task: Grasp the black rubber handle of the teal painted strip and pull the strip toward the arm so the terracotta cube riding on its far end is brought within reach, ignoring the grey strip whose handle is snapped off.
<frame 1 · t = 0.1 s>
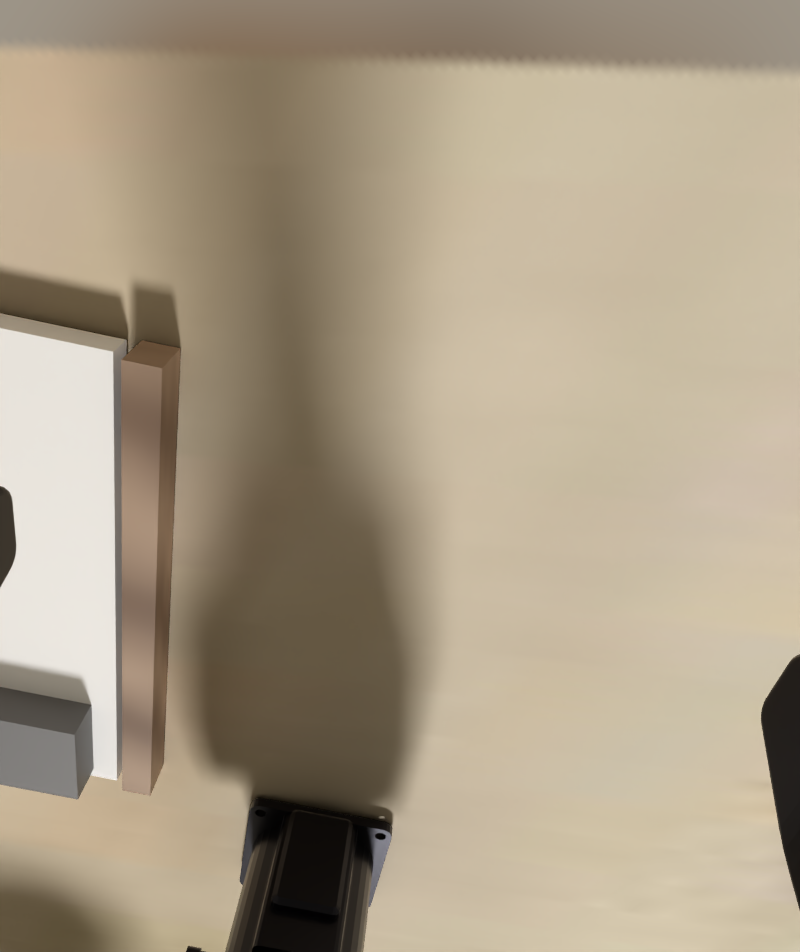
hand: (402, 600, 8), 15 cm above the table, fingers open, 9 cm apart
strip a: (15, 591, 27), point 1 cm above the table, slide at 0.0 cm
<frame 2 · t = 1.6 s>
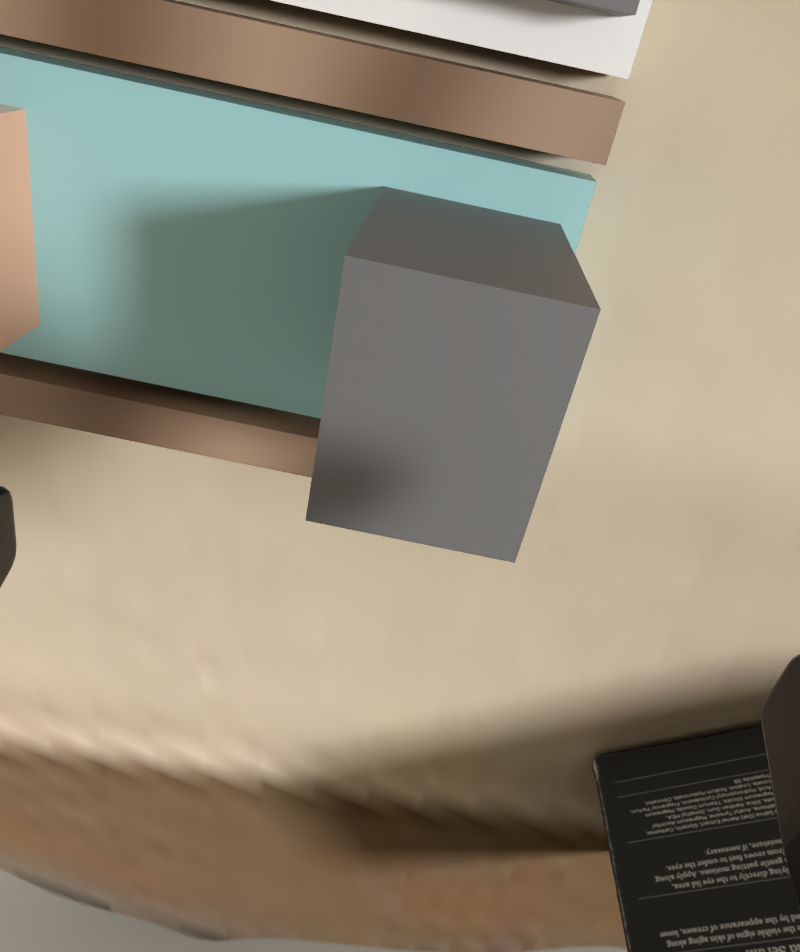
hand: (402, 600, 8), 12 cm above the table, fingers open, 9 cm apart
strip b: (92, 276, 16), point 4 cm above the table, slide at 0.0 cm, touching cube
lane rails: (159, 29, 16), on the table
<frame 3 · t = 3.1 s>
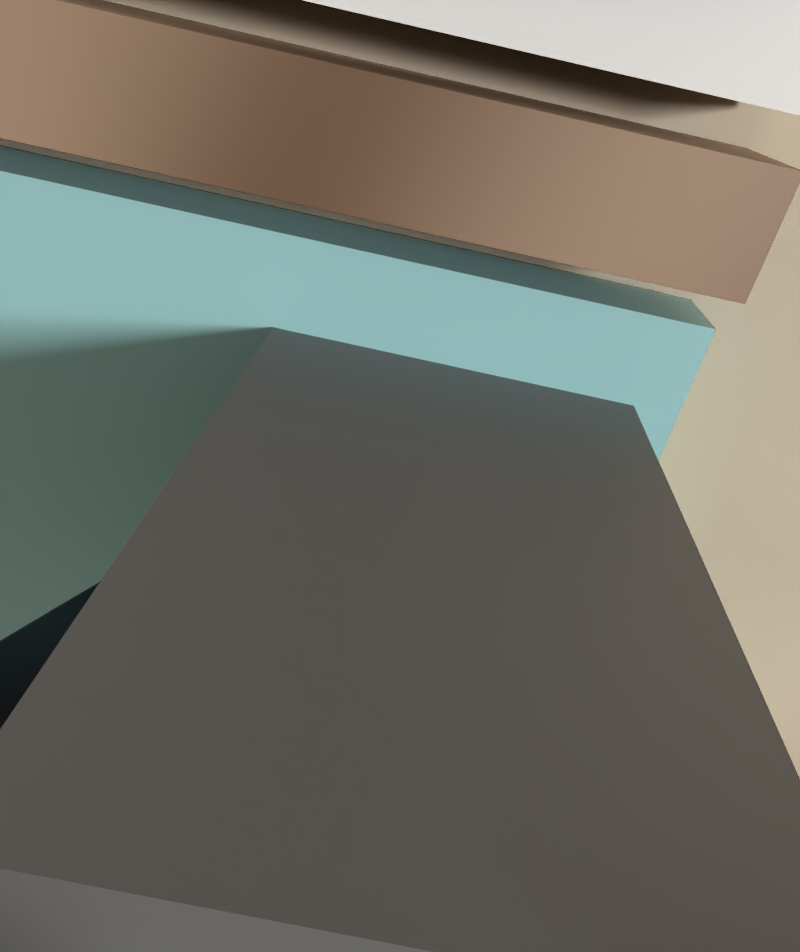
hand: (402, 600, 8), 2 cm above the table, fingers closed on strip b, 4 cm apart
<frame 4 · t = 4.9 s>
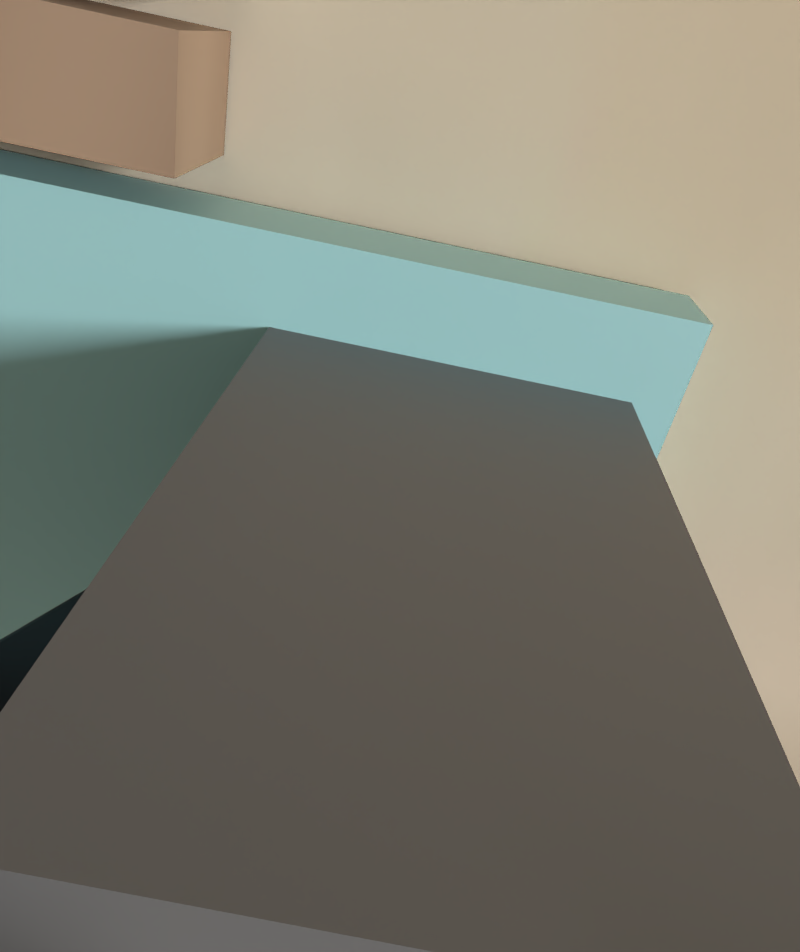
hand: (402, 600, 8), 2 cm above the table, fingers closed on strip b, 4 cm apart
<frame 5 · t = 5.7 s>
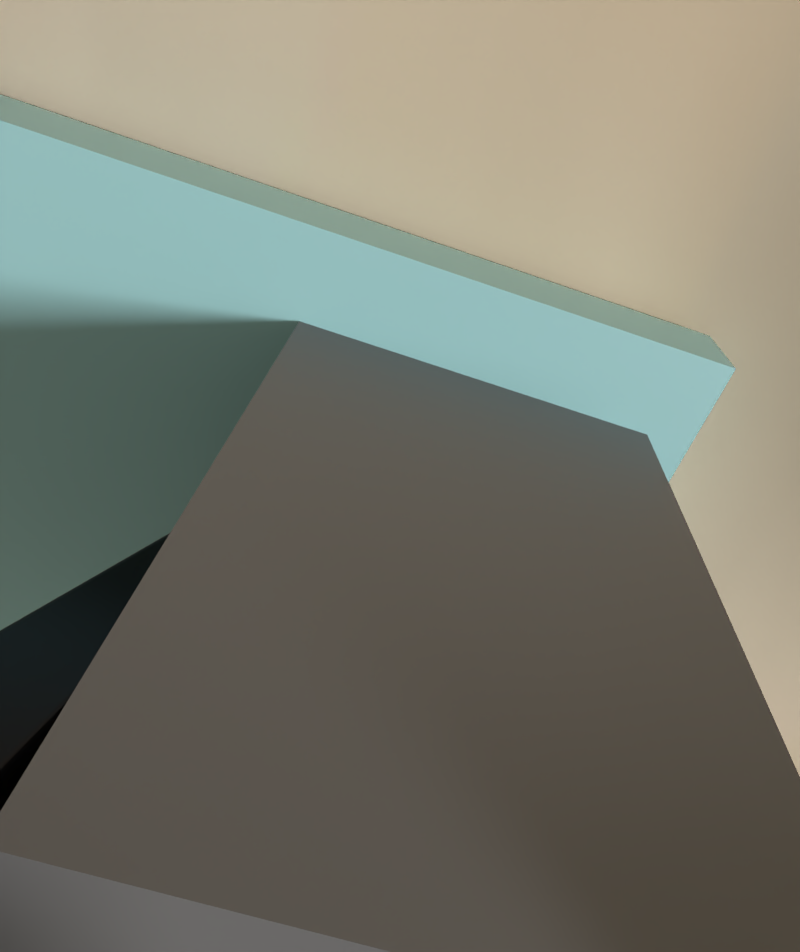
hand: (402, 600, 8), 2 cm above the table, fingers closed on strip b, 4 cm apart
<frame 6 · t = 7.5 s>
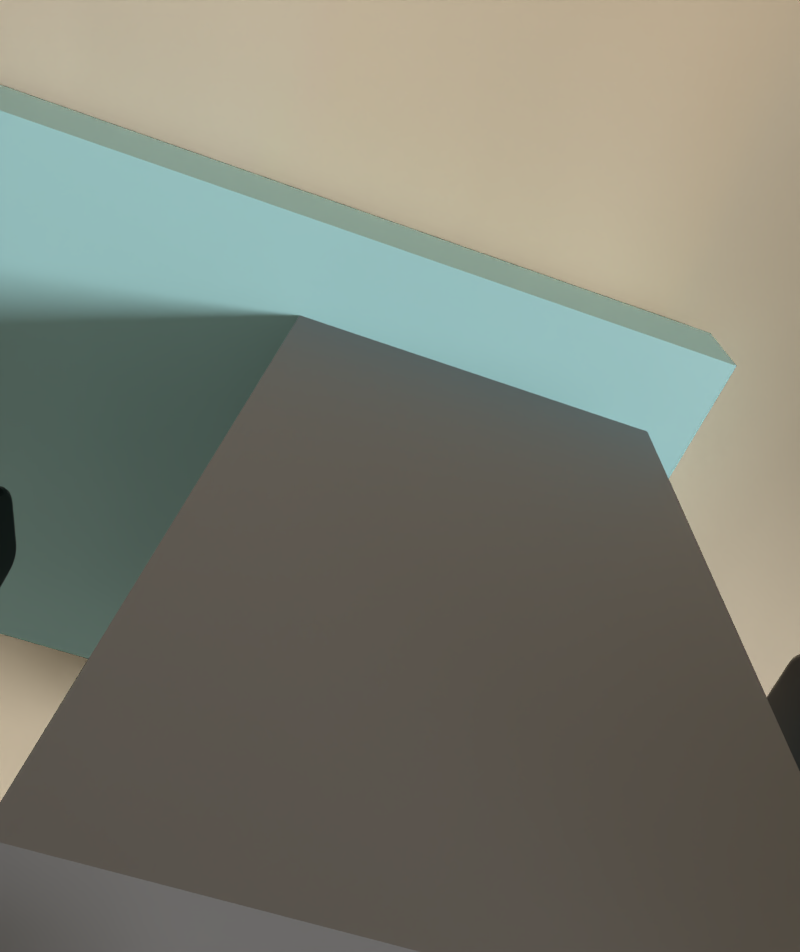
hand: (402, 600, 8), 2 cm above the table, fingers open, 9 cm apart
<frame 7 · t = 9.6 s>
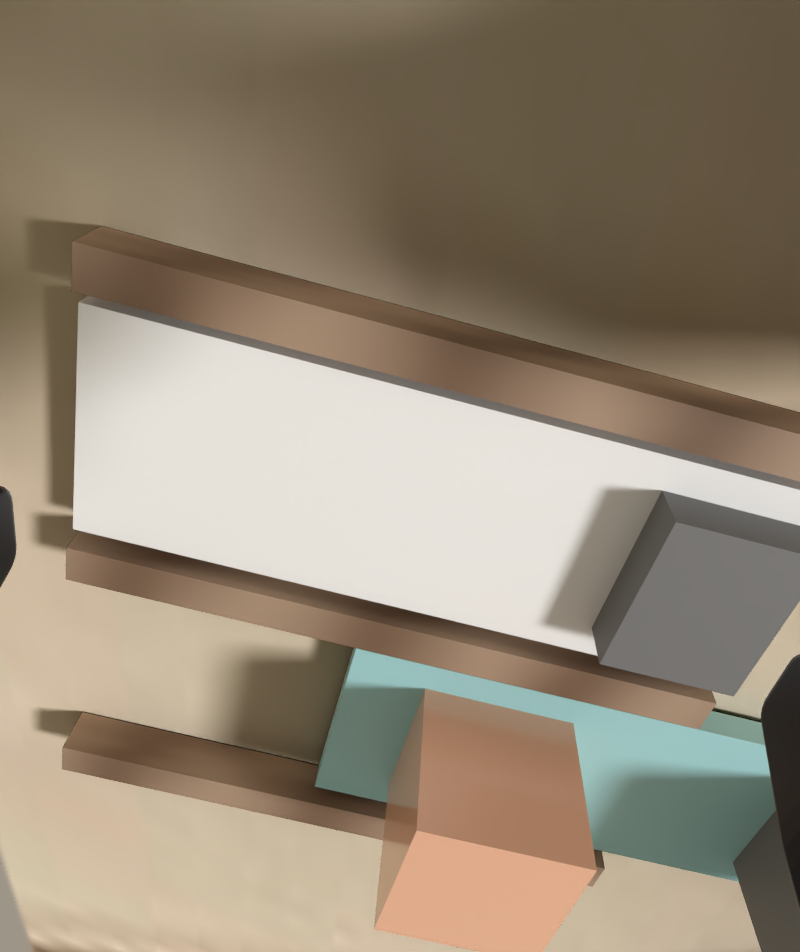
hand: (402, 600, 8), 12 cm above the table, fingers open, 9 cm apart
strip b: (630, 855, 24), point 4 cm above the table, slide at 8.9 cm, touching cube
lane rails: (399, 607, 24), on the table
cube: (476, 755, 25), point 1 cm above the table, touching strip b
strip a: (435, 520, 20), point 1 cm above the table, slide at 0.0 cm
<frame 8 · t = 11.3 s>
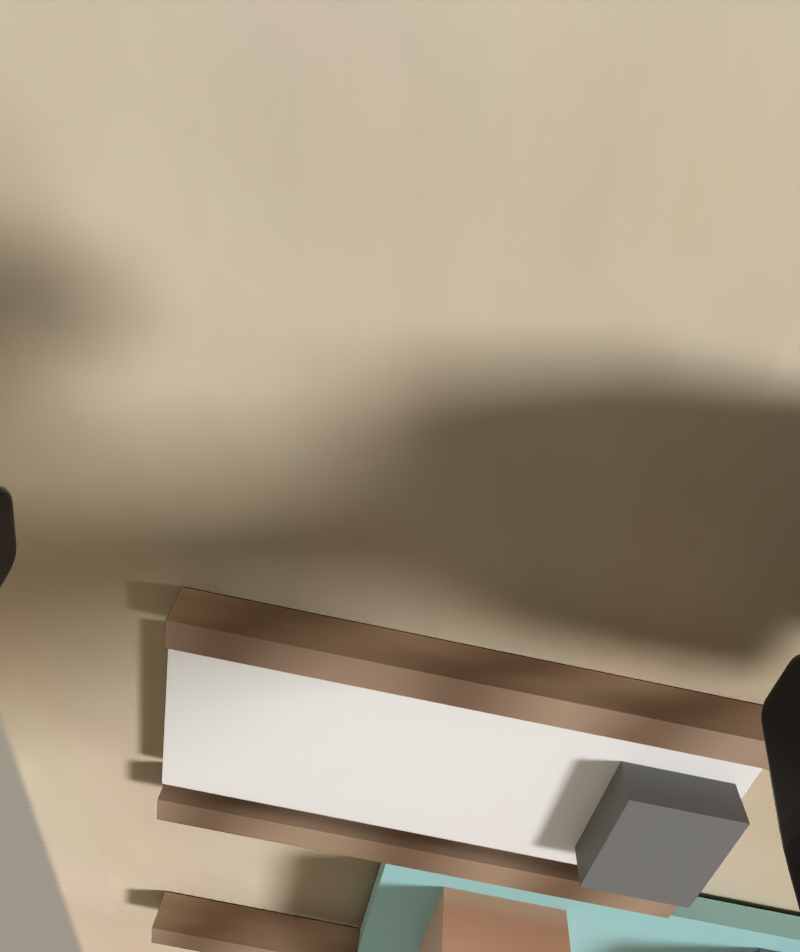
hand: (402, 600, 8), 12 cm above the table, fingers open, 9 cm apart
lane rails: (420, 822, 30), on the table
cube: (489, 931, 31), point 1 cm above the table, touching strip b
strip a: (445, 782, 26), point 1 cm above the table, slide at 0.0 cm
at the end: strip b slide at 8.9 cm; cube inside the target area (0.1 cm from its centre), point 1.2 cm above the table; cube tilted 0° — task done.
